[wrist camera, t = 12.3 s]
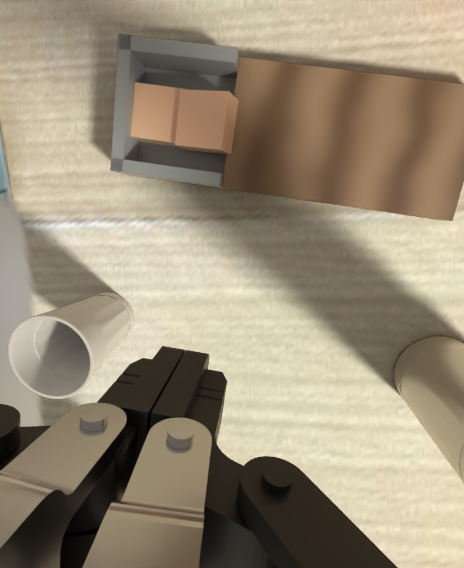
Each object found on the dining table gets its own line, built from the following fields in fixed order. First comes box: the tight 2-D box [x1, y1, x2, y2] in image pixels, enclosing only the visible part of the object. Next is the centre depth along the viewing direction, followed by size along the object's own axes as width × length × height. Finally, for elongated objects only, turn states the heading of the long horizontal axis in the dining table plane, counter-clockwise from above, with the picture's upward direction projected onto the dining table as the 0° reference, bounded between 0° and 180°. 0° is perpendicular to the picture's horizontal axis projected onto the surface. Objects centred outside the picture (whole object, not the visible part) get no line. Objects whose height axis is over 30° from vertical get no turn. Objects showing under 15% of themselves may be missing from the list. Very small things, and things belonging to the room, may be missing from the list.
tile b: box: [131, 82, 182, 147], centre depth 35 cm, size 5×5×2 cm
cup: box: [8, 292, 134, 399], centre depth 37 cm, size 8×8×12 cm
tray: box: [110, 34, 239, 189], centre depth 35 cm, size 11×12×4 cm
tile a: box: [175, 89, 239, 155], centre depth 34 cm, size 5×5×2 cm
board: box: [222, 57, 464, 221], centre depth 35 cm, size 23×12×2 cm, turn 82°
